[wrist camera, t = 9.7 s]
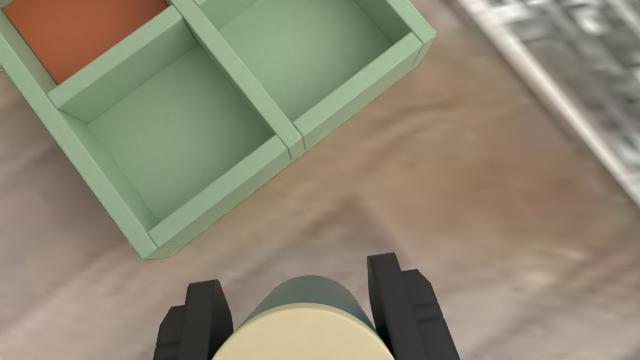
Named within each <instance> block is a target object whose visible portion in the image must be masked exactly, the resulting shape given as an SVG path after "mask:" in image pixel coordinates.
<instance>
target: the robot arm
mask: <svg viewBox="0 0 640 360" xmlns="http://www.w3.org/2000/svg"><path fill="white" fill-rule="evenodd" d="M367 267H368V287H369V298H370V305H371V310H372V315H373V319H374V323H375V327H376V331H377V333H378V334H379V336H380V337H381V339H382V341H383V342H384V344H385V345H386V347H387V348H388V350H389V352H390V353H391V355H392V356H393V358H394V359H395V360H460V358H459V355H458V353H457V350H456V348H455V345H454V342H453V340H452V337H451V335H450V332H449V330H448V327H447V324H446V322H445V319H444V318H443V314H442V311H441V309H440V306H439V304H438V303H437V299H436V296H435V293H434V291H433V288H432V286H431V283H430V282H429V281H428V280H427V279H426V278H425V277H424V276H423V275H422V274H421V273H420V272H419V271H418V270H417V269H414V270H408V271H401V269H400V266H399V263H398V260H397V257H396V255H395V253H394V252H392V253H385V254H379V255H372V256H367ZM232 334H233V322H232V316H231V312H230V310H229V307H228V304H227V301H226V298H225V296H224V293H223V290H222V287H221V284H220V282H219V280H217V279H216V280H210V281H203V282H196V283H190V284H189V286H188V289H187V295H186V301H185V305H181V306H174V307H171V308H170V310H169V311H168V313H167V315H166V316H165V318H164V319H163V321H162V323H161V324H160V327H159V332H158V337H157V342H156V348H155V352H154V357H153V360H212V358H213V357H214V355H215V354H216V352H217V351H218V350H219V349H220V348H221V346H222V345H223V344H224V343H225V342H226V340H227V339H228V338H229V337H230V336H231V335H232Z"/></svg>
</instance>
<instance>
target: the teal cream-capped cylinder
mask: <svg viewBox="0 0 640 360" xmlns="http://www.w3.org/2000/svg"><path fill="white" fill-rule="evenodd" d="M212 360H395V359H394V358H393V356H392V355H391V353H390V352H389V350H388V348H387V347H386V345H385V344H384V342H383V341H382V339H381V337H380V336H379V334H378V333H377V331H376V330H375V328H374V326H373V325H372V323H371V322H370V320H369V319H368V317H367V316H366V314H365V312H364V311H363V309H362V308H361V306H360V305H359V303H358V302H357V300H356V299H355V297H354V296H353V295H352V294H351V293H350V291H348V290H347V289H346V288H345V287H344V286H342V285H341V284H339V283H338V282H336V281H334V280H332V279H329V278H326V277H321V276H313V275H307V276H300V277H295V278H293V279H290V280H288V281H286V282H284V283H282V284H280V285H279V286H278V287H276V288H275V289H274V290H273V291H272V292H271V293H270V294H269V295H268V296H267V297H266V298H265V299H264V300H263V301H262V302H261V303H260V305H259V306H258V307H257V308H256V309H255V310H254V311H253V312H252V313H251V314H250V315H249V317H248V318H247V319H246V320H245V321H244V322H243V323H242V324H241V325H240V326H239V327H238V328H237V330H236V331H235V332H234V333H233V334H232V335H231V336H230V337H229V338H228V339H227V340H226V342H225V343H224V344H223V345H222V346H221V348H220V349H219V350H218V351H217V352H216V354H215V355H214V357H213V358H212Z"/></svg>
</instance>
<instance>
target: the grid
mask: <svg viewBox="0 0 640 360" xmlns="http://www.w3.org/2000/svg"><path fill="white" fill-rule="evenodd" d="M436 35H437V33H436V31H435V30H434V29H433V28H432V27H431V26H430V24H429V23H428V22H427V21H426V20H425V19H424V18H423V16H422V15H421V14H420V13H419V12H418V11H417V10H416V8H415V7H414V6H413V5H412V4H411V3H410V2H409V0H0V65H1V67H2V68H3V69H4V71H5V72H6V73H7V75H8V76H9V78H10V79H11V80H12V82H13V83H14V84H15V86H16V87H17V89H18V90H19V91H20V93H21V94H22V95H23V97H24V98H25V100H26V101H27V102H28V104H29V105H30V106H31V108H32V109H33V111H34V112H35V113H36V115H37V116H38V118H39V119H40V120H41V122H42V123H43V124H44V126H45V127H46V129H47V130H48V131H49V133H50V134H51V135H52V137H53V138H54V140H55V141H56V142H57V144H58V145H59V146H60V148H61V149H62V151H63V152H64V153H65V155H66V156H67V157H68V159H69V160H70V162H71V163H72V164H73V166H74V167H75V168H76V170H77V171H78V173H79V174H80V175H81V177H82V178H83V179H84V181H85V182H86V184H87V185H88V186H89V188H90V189H91V190H92V192H93V193H94V195H95V196H96V197H97V199H98V200H99V202H100V203H101V204H102V206H103V207H104V208H105V210H106V211H107V213H108V214H109V215H110V217H111V218H112V219H113V221H114V222H115V224H116V225H117V226H118V228H119V229H120V230H121V232H122V233H123V235H124V236H125V237H126V239H127V240H128V241H129V243H130V244H131V246H132V247H133V248H134V250H135V251H136V252H137V254H138V255H139V257H140V258H141V259H142V260H148V259H158V258H169V257H170V256H172V255H173V254H174V253H176V252H177V251H178V250H179V249H181V248H182V247H183V246H185V245H186V244H187V243H189V242H190V241H191V240H192V239H194V238H195V237H196V236H198V235H199V234H200V233H202V232H203V231H204V230H205V229H207V228H208V227H209V226H211V225H212V224H213V223H214V222H216V221H217V220H218V219H220V218H221V217H222V216H224V215H225V214H226V213H227V212H229V211H230V210H231V209H233V208H234V207H235V206H236V205H238V204H239V203H240V202H242V201H243V200H244V199H246V198H247V197H248V196H249V195H251V194H252V193H253V192H255V191H256V190H257V189H258V188H260V187H261V186H262V185H264V184H265V183H266V182H268V181H269V180H270V179H271V178H273V177H274V176H275V175H277V174H278V173H279V172H280V171H282V170H283V169H284V168H286V167H287V166H288V165H290V164H291V163H292V162H293V161H295V160H296V159H297V158H299V157H300V156H301V155H302V154H304V153H305V152H306V151H308V150H309V149H310V148H312V147H313V146H314V145H315V144H317V143H318V142H319V141H321V140H322V139H323V138H324V137H326V136H327V135H328V134H330V133H331V132H332V131H334V130H335V129H336V128H337V127H339V126H340V125H341V124H343V123H344V122H345V121H346V120H348V119H349V118H350V117H352V116H353V115H354V114H356V113H357V112H358V111H359V110H361V109H362V108H363V107H365V106H366V105H367V104H368V103H370V102H371V101H372V100H374V99H375V98H376V97H378V96H379V95H380V94H381V93H383V92H384V91H385V90H387V89H388V88H389V87H390V86H392V85H393V84H394V83H396V82H397V81H398V80H400V79H401V78H402V77H403V76H405V75H406V74H407V73H409V72H410V71H411V70H412V69H414V68H415V67H416V66H418V65H419V64H420V63H421V62H422V60H423V58H424V56H425V54H426V52H427V51H428V49H429V47H430V45H431V44H432V42H433V40H434V38H435V37H436Z"/></svg>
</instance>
